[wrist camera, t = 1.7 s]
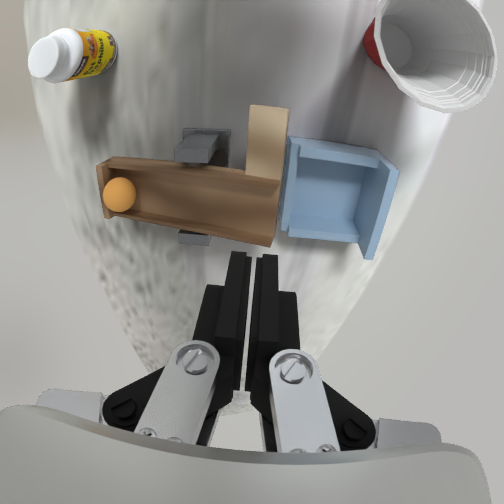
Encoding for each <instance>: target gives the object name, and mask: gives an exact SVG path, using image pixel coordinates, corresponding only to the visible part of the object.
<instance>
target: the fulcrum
mask: <svg viewBox="0 0 504 504" xmlns="http://www.w3.org/2000/svg"><path fill="white" fill-rule="evenodd" d="M229 153H230V130H229V129H203V128H184V129H183V141H182V142H181V143H180V144H179V145H178V146H177V147H176V148H175V149H174V162H184V163H200V164H202V165H210V166H218V167H225V168H229ZM211 236H212V235H208V234H203V233H198V232H193V231H188V230H183V229H180V231H179V243H182V244H194V245H205V246H208V245H209V242H210V239H211Z"/></svg>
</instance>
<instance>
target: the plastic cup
mask: <svg viewBox="0 0 504 504" xmlns="http://www.w3.org/2000/svg"><path fill="white" fill-rule="evenodd" d="M364 45H365V48H366V52H367V54H368V56H369V57H370V58H371V59H372V61H373V62H374V63H375V64H376V65H378V66H379V67H381V68H382V69H384V70H385V71H387V72H388V73H389V75H390V76H391V78H392V79H393V81H394V82H395V84H396V85H397V87H398V88H399V89H400V90H401V91H403V92H404V93H405V94H406V95H408V96H409V97H410V98H412V99H413V100H414V101H416V102H417V103H418V104H419V105H421V106H423V107H427V108H430V109H433V110H436V111H439V112H442V113H450V112H458V111H466V110H468V109H469V108H471V107H472V106H474V105H475V104H477V103H479V102H480V101H482V100H483V99H484V98H485V96H486V94H487V93H488V91H489V89H490V88H491V86H492V84H493V83H494V80H495V74H496V67H497V60H498V57H497V52H496V46H495V41H494V37H493V33H492V31H491V29H490V27H489V25H488V23H487V21H486V20H485V18H484V16H483V14H482V13H481V11H480V9H479V8H478V7H477V6H476V5H475V4H474V3H473V2H472V1H470V0H381V2H380V3H379V5H378V7H377V8H376V16H375V18H374V20H373V22H372V23H371V24H370V25H369V27H368V29H367V30H366V32H365V37H364Z"/></svg>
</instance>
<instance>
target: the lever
mask: <svg viewBox="0 0 504 504" xmlns="http://www.w3.org/2000/svg"><path fill="white" fill-rule="evenodd" d="M289 110H290V109H289V108H281V107H273V106H264V105H255V104H253V105H250V110H249V125H248V140H247V155H246V170H239V169H232V168H225V167H218V166H210V165H202V164H200V163H184V162H174V161H165V160H154V159H142V158H129V157H112V158H110V159H108V160H106V161H104V162H103V163H101V164H99V165H97V166H96V171H97V178H98V184H99V190H100V196H101V202H102V208H103V213H104V218H107V219H111V218H112V217H113V216H119V217H124V218H129V219H134V220H139V221H144V222H149V223H154V224H159V225H164V226H169V227H173V228H178V229H183V230H188V231H193V232H198V233H203V234H208V235H212V236H217V237H222V238H227V239H232V240H237V241H241V242H246V243H251V244H256V245H261V246H265V247H270V246H271V244H272V241H273V239H274V236H275V231H276V223H277V215H278V207H279V199H280V190H281V182H282V174H283V165H284V156H285V147H286V138H287V129H288V120H289ZM117 177H123V178H126V179H128V180H130V181H131V182H132V183H133V184H134V186H135V189H136V199H135V202H134V204H133V205H132V206H131V207H130V208H129V209H128V210H126V211H123V212H115V211H112V210H110V209H109V208H108V207H107V206H106V205H105V203H104V200H103V191H104V188H105V186H106V184H107V183H108V182H109V181H110V180H112V179H114V178H117Z"/></svg>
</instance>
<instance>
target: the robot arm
mask: <svg viewBox="0 0 504 504" xmlns="http://www.w3.org/2000/svg"><path fill="white" fill-rule="evenodd" d="M251 262H252V257H248V256H246V252H236V251H232V252H231V256H230V261H229V266H228V271H227V276H226V281H225V286H219V285H209V284H208V285H207V286H206V289H205V293H204V297H203V301H202V304H201V308H200V312H199V316H198V320H197V324H196V328H195V331H194V335H193V339H192V341H187V342H184V343H181V344H180V345H179V346H177V347H176V348H175V349H174V351H173V352H172V354H171V356H170V358H169V360H168V362H167V364H166V366H164V367H162V368H160V369H159V370H157V371H155V372H153V373H151V374H149V375H147V376H145V377H144V378H141V379H139V380H137V381H135V382H133V383H131V384H129V385H127V386H125V387H123V388H122V389H119V390H117V391H115V392H114V393H112V394H111V395H103V394H102V393H101V392H100V393H99V392H83V391H71V390H60V389H48V390H46V391H45V392H43V393H42V394H41V395H40V396H39V398H38V401H37V404H36V405H16V406H11V407H7V408H5V409H3V410H1V411H0V504H491V498H490V492H489V487H488V483H487V479H486V476H485V473H484V469H483V467H482V464H481V462H480V460H479V459H478V457H477V456H476V455H475V454H474V453H473V452H471V451H470V450H469V449H466V448H464V447H461V446H458V445H454V444H448V443H441V436H440V432H439V431H438V429H437V428H436V427H435V426H433V425H432V424H429V423H421V422H409V421H400V420H392V419H383V418H379V420H372V419H370V417H369V416H368V415H366V414H365V413H364V412H362V411H361V410H360V409H358V408H357V407H356V406H354V405H353V404H352V403H350V402H349V401H348V400H347V399H345V398H344V397H343V396H341V395H340V394H339V393H338V392H336V391H335V390H334V389H333V388H331V387H330V386H329V385H327V384H326V383H325V382H323V381H322V379H321V375H320V372H319V368H318V365H317V363H316V361H315V360H314V359H313V357H312V356H311V355H309V354H307V353H306V352H304V351H301V350H300V338H299V324H298V310H297V297H296V293H295V292H285V291H278V255H270V254H263V257H262V258H259V257H257V260H256V270H255V281H254V291H253V301H252V311H251V323H250V334H249V346H248V358H247V369H246V381H245V391H249V392H251V393H250V400H251V404H252V405H253V406H254V407H255V408H256V409H257V410H258V411H259V418H260V426H261V434H262V443H263V450H264V452H256V451H243V450H232V449H222V448H213V447H209V446H210V443H211V440H212V437H213V434H214V431H215V428H216V424H217V422H218V419H219V415H220V412H221V408H222V407H224V406H226V405H227V404H229V403H230V402H231V400H232V398H233V390H238V391H239V390H240V380H241V370H242V360H243V350H244V340H245V330H246V320H247V309H248V297H249V285H250V273H251Z"/></svg>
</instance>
